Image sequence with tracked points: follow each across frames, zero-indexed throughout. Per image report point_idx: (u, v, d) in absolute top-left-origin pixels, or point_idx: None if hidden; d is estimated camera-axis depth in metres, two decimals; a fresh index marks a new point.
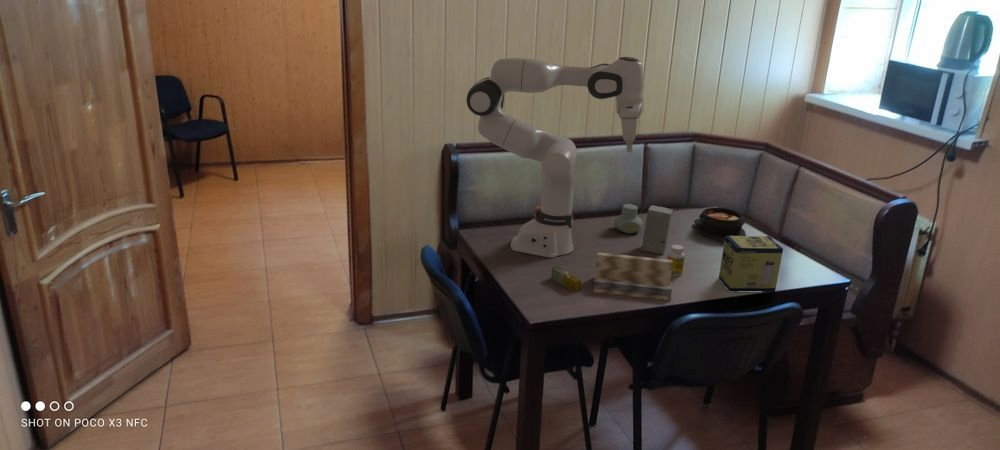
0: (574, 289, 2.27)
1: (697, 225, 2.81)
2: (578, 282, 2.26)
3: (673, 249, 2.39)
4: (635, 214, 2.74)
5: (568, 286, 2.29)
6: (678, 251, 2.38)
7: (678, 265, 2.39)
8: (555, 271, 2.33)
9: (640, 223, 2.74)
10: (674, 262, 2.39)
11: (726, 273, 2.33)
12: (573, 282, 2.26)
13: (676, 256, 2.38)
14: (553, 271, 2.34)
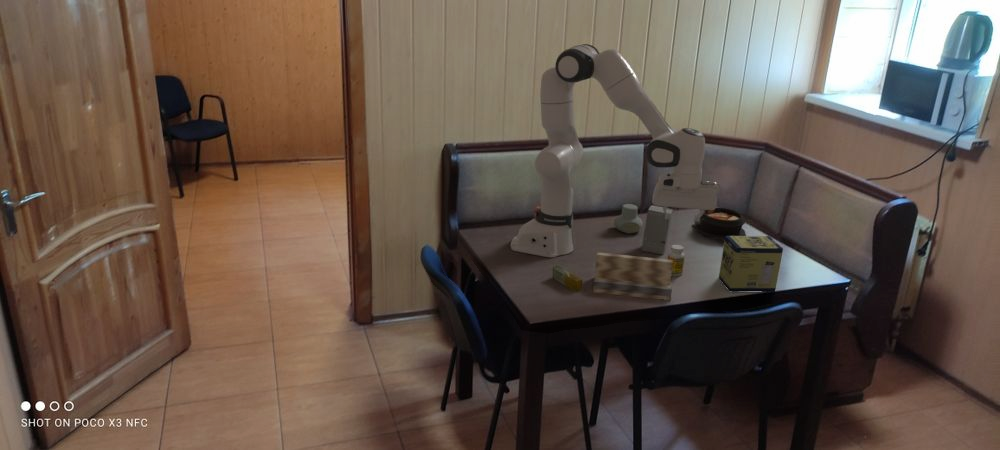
0: (576, 289, 2.27)
1: (697, 225, 2.81)
2: (580, 281, 2.27)
3: (673, 249, 2.39)
4: (635, 214, 2.74)
5: (570, 286, 2.29)
6: (678, 251, 2.38)
7: (678, 265, 2.39)
8: (556, 271, 2.33)
9: (640, 223, 2.74)
10: (674, 262, 2.39)
11: (726, 273, 2.33)
12: (575, 282, 2.26)
13: (676, 256, 2.38)
14: (554, 271, 2.34)
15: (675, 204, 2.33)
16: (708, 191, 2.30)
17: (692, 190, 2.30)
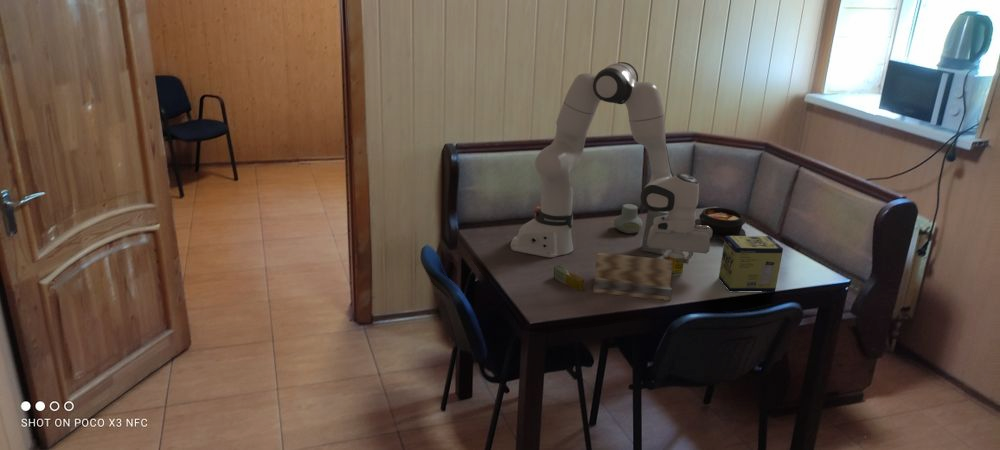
0: (578, 288, 2.27)
1: None
2: (581, 281, 2.27)
3: None
4: (635, 214, 2.74)
5: (571, 285, 2.29)
6: (678, 251, 2.38)
7: (678, 265, 2.39)
8: (557, 271, 2.34)
9: (640, 223, 2.74)
10: (674, 262, 2.39)
11: (726, 273, 2.33)
12: (577, 281, 2.27)
13: (676, 256, 2.38)
14: (555, 270, 2.34)
15: (668, 247, 2.38)
16: (702, 235, 2.35)
17: (686, 234, 2.35)
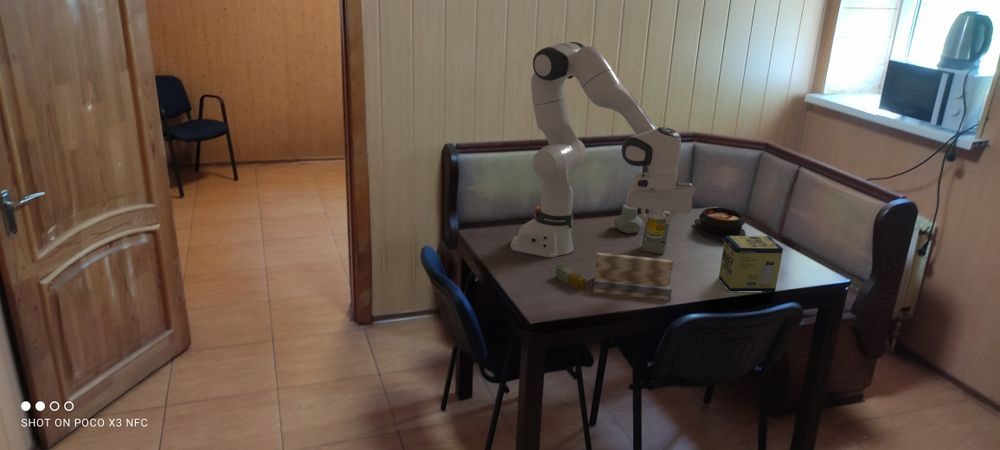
0: (579, 288, 2.28)
1: (697, 225, 2.81)
2: (583, 281, 2.27)
3: (653, 210, 2.26)
4: (635, 214, 2.74)
5: (573, 285, 2.30)
6: (659, 211, 2.25)
7: (658, 227, 2.26)
8: (559, 270, 2.34)
9: (640, 223, 2.74)
10: (654, 223, 2.26)
11: (726, 273, 2.33)
12: (578, 281, 2.27)
13: (656, 217, 2.25)
14: (558, 270, 2.35)
15: (649, 206, 2.25)
16: (684, 193, 2.22)
17: (667, 192, 2.22)
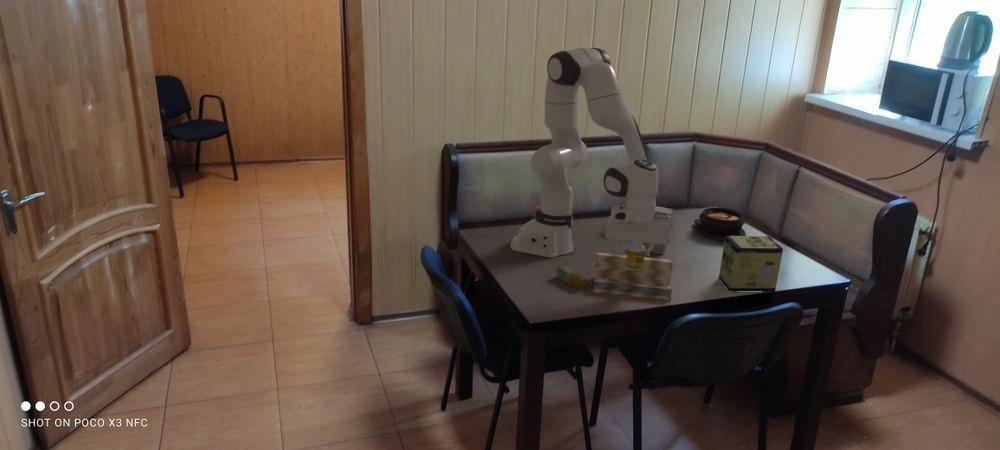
0: (581, 287, 2.28)
1: (697, 225, 2.81)
2: (584, 280, 2.28)
3: (632, 242, 2.24)
4: None
5: (574, 284, 2.30)
6: (638, 244, 2.23)
7: (637, 259, 2.24)
8: (560, 270, 2.34)
9: None
10: (633, 256, 2.24)
11: (726, 273, 2.33)
12: (580, 280, 2.27)
13: (635, 249, 2.23)
14: (559, 270, 2.35)
15: (627, 238, 2.23)
16: (662, 225, 2.20)
17: (645, 224, 2.20)
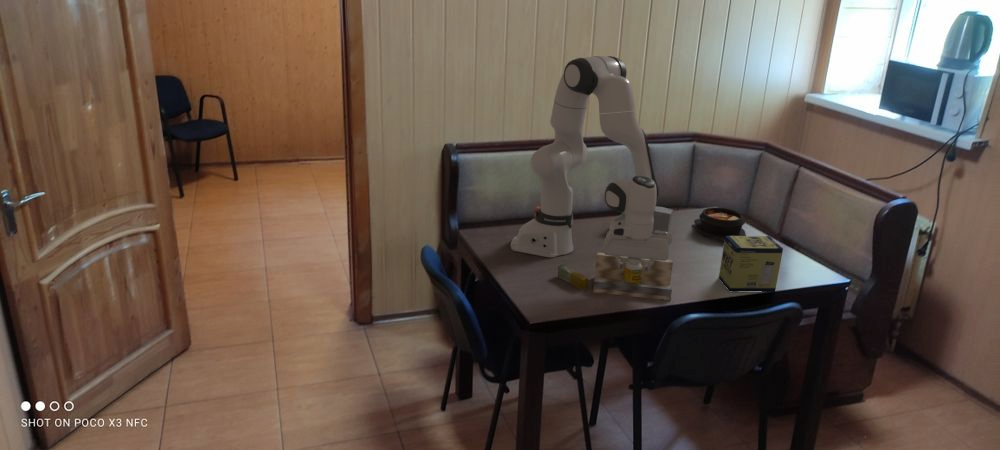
0: (582, 287, 2.28)
1: (697, 225, 2.81)
2: (586, 280, 2.28)
3: (629, 260, 2.26)
4: None
5: (575, 284, 2.30)
6: (635, 262, 2.25)
7: (634, 277, 2.27)
8: (562, 269, 2.35)
9: None
10: (631, 274, 2.26)
11: (726, 273, 2.33)
12: (581, 280, 2.28)
13: (632, 267, 2.26)
14: (560, 269, 2.35)
15: (626, 254, 2.25)
16: (660, 241, 2.22)
17: (643, 240, 2.22)
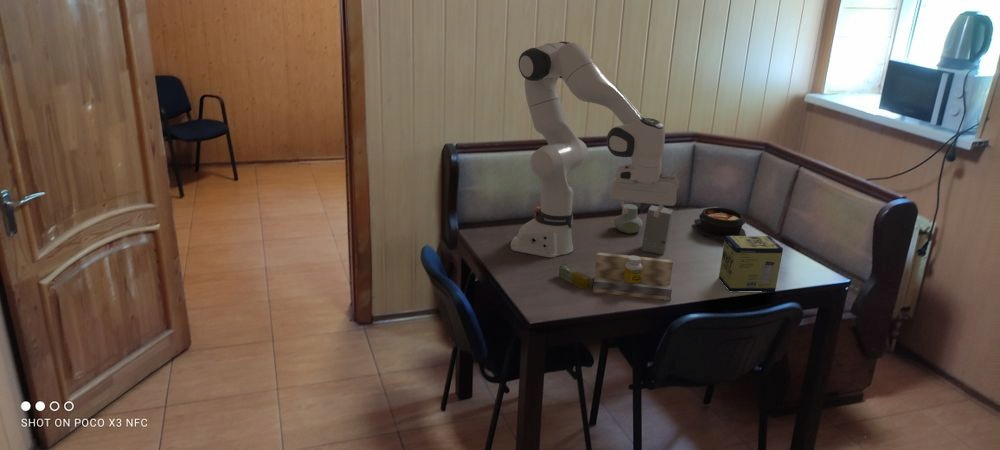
0: (584, 286, 2.29)
1: (697, 225, 2.81)
2: (587, 279, 2.28)
3: (629, 260, 2.26)
4: (635, 214, 2.74)
5: (577, 284, 2.31)
6: (635, 262, 2.25)
7: (634, 277, 2.27)
8: (563, 269, 2.35)
9: (640, 223, 2.74)
10: (631, 274, 2.26)
11: (726, 273, 2.33)
12: (583, 280, 2.28)
13: (632, 267, 2.26)
14: (561, 269, 2.36)
15: (632, 199, 2.20)
16: (668, 185, 2.17)
17: (650, 184, 2.17)
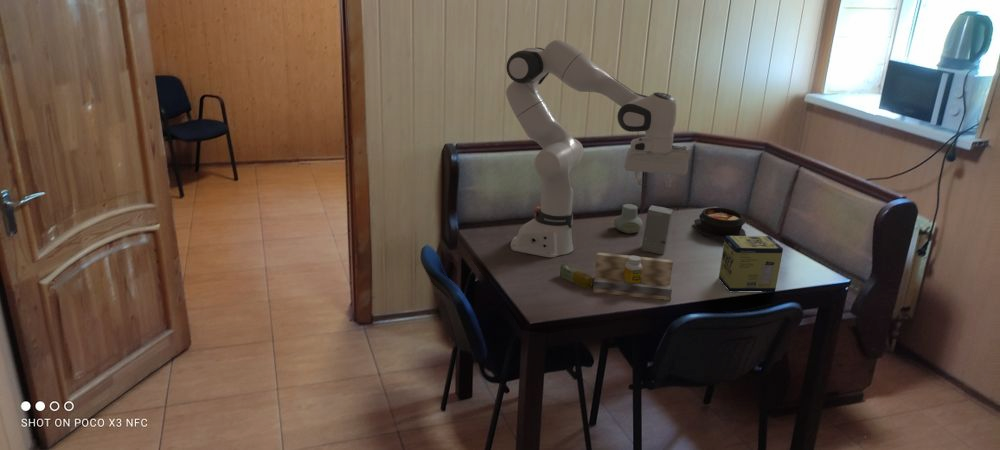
0: (586, 286, 2.29)
1: (697, 225, 2.81)
2: (589, 279, 2.29)
3: (629, 260, 2.26)
4: (635, 214, 2.74)
5: (579, 283, 2.31)
6: (635, 262, 2.25)
7: (634, 277, 2.27)
8: (564, 269, 2.35)
9: (640, 223, 2.74)
10: (631, 274, 2.26)
11: (726, 273, 2.33)
12: (584, 279, 2.29)
13: (632, 267, 2.26)
14: (562, 269, 2.36)
15: (646, 169, 2.34)
16: (680, 155, 2.30)
17: (663, 155, 2.30)
